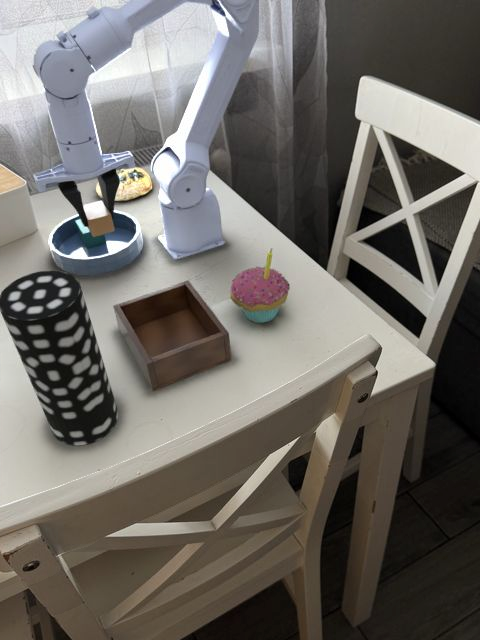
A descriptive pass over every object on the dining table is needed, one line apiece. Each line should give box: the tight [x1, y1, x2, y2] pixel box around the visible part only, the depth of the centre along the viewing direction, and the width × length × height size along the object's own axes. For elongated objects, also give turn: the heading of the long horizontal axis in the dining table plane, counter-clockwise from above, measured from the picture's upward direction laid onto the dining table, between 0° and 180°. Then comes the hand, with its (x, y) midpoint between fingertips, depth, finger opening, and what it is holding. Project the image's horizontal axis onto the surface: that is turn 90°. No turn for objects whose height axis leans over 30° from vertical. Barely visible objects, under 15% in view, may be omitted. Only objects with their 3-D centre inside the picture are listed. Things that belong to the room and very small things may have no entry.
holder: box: [112, 279, 232, 392], centre depth 83 cm, size 12×14×5 cm
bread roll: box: [95, 166, 153, 202], centre depth 117 cm, size 11×11×5 cm
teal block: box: [75, 219, 106, 249], centre depth 104 cm, size 4×5×3 cm
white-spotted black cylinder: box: [0, 270, 119, 446], centre depth 68 cm, size 8×8×20 cm
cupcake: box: [230, 247, 291, 324], centre depth 85 cm, size 9×8×12 cm
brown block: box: [83, 199, 115, 237], centre depth 93 cm, size 4×5×3 cm
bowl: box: [47, 209, 144, 276], centre depth 102 cm, size 15×15×4 cm
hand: (98, 220), depth 94 cm, fingers closed on brown block, 3 cm apart
